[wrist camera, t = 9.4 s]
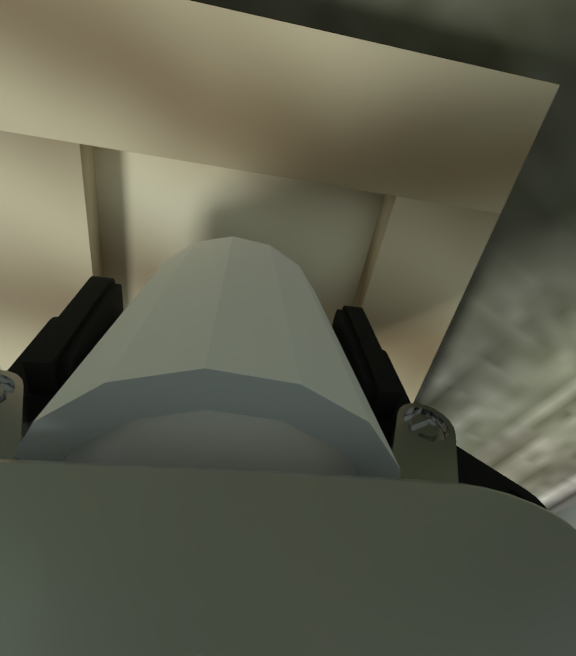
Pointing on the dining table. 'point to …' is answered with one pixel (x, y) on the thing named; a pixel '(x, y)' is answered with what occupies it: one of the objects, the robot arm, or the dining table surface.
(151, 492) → the robot arm
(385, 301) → the coaster board
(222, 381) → the white cup
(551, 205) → the dining table surface
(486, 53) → the dining table surface
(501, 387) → the dining table surface
